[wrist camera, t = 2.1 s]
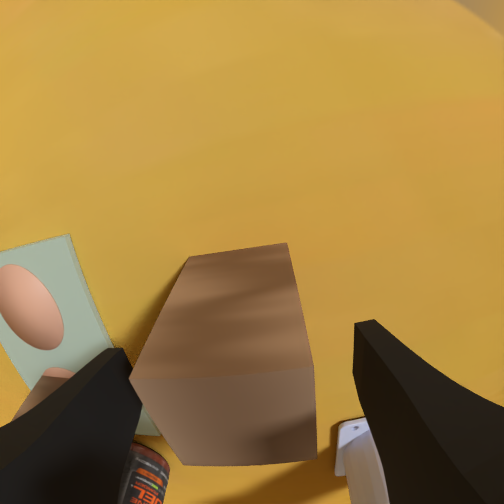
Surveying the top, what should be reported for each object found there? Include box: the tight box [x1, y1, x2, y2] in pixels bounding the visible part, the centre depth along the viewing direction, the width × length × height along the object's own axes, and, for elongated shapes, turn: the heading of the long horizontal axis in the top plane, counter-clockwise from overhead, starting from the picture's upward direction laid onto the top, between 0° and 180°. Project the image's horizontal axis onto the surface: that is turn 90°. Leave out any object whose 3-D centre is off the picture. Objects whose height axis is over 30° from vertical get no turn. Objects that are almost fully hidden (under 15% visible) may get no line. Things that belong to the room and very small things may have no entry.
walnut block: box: [129, 243, 317, 466], centre depth 10 cm, size 4×4×7 cm
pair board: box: [0, 234, 161, 436], centre depth 15 cm, size 10×14×1 cm
